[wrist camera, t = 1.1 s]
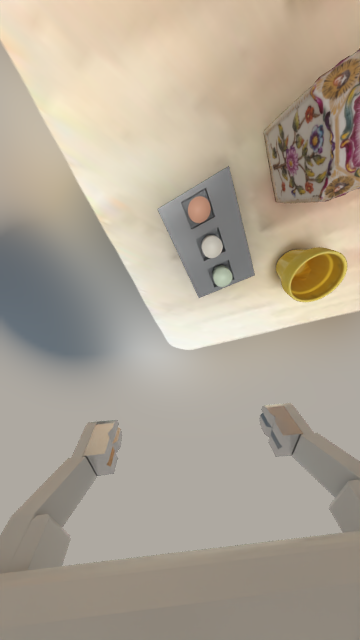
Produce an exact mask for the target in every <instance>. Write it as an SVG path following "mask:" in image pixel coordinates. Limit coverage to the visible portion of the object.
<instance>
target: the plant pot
mask: <svg viewBox="0 0 360 640" xmlns="http://www.w3.org/2000/svg"><path fill="white" fill-rule="evenodd" d="M276 271H277V274H278V275H279V277H280V279H281V284H282V287H283V289H284V291H285V292H286V293H287V294H288V295H289V296H290V297H292V298H293V299H294V300H296V301H300V302H311V301H316V300H318V299H321V298H323V297H325V296H326V295H328V294H329V293H331V292H332V291H333V290H334V289H335V288H337V286H338V285H339V284H340V283H341V282H342V280H343V278H344V277H345V274H346V271H347V261H346V259H345V257H344V256H343V255H342V254H341V253H339V252H337V251H334V250H331V249H327V248H321V247H316V248H311V249H308V250H291V251H289V252H287V253H285V254H284V255H283V256H282V257H281V258H280V259H279V261H278V262H277V265H276Z"/></svg>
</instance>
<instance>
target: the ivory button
mask: <svg viewBox="0 0 360 640" xmlns="http://www.w3.org/2000/svg"><path fill="white" fill-rule="evenodd" d="M201 248H202V251H203V253H204V255H205V256H206V257H208V258H215V257H217V256H218V255H219V254H220V253H221V252H222V248H223V244H222V242H221V240H220V239H219V238H218V237H217V236H216V235H207V236H206V237H205V238H204V239H203V240H202V243H201Z"/></svg>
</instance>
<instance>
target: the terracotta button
mask: <svg viewBox="0 0 360 640" xmlns="http://www.w3.org/2000/svg"><path fill="white" fill-rule="evenodd" d="M210 210H211V207H210V203H209V201H208V200H207V199H206V198H205V197H202V196H198V197H195V198H194V199H192V200H191V202H190V203H189V206H188V214H189V217H190V219H191V220H192V221H193V222H195V223H202V222H204V221H205V220H206V219H207V218H208V217H209V215H210Z"/></svg>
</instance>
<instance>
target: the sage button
mask: <svg viewBox="0 0 360 640" xmlns="http://www.w3.org/2000/svg"><path fill="white" fill-rule="evenodd" d="M212 277H213V279H214V282H215V284H216V285H217V286H220V287H225V286H227V285H229V284H230V283H231V281H232V273H231V272H230V270H229V269H228V267H226V266H224V265H220V266H217V267H216V268H215V269H214V270H213V273H212Z"/></svg>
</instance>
